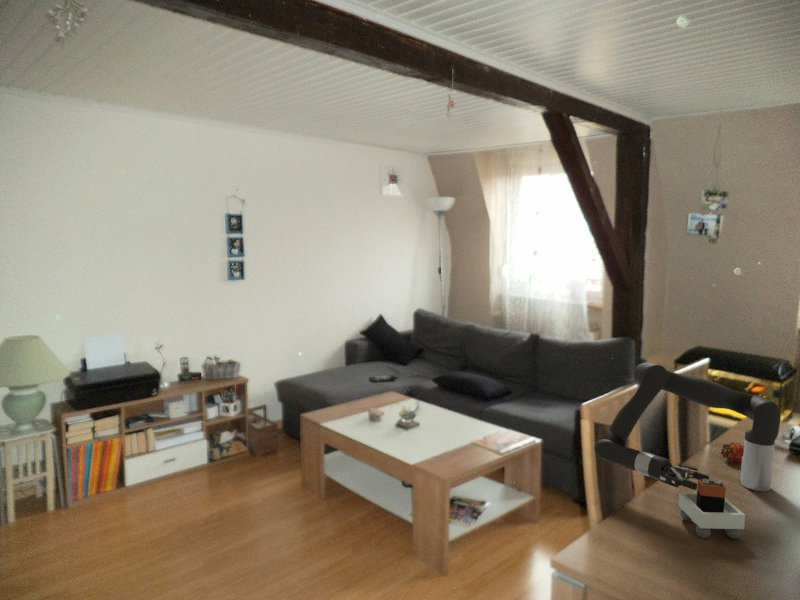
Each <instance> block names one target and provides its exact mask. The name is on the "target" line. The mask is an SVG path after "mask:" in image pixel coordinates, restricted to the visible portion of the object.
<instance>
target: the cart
mask: <svg viewBox="0 0 800 600" xmlns="http://www.w3.org/2000/svg"><path fill="white" fill-rule="evenodd" d="M696 502H697V492H681V491H680V492H679V493H678V507H679V508H680V509H681V510H680V513H679V515H680V517H681V518H682V519H683V520H684V521H687V522H691V521H692V522H694V524H696V527H695V532H696V535H698V537H700V538H703V539H706V538H709V537H710V536H711V529H715V530H717V529H718V530H720V529H721V530H722V529H723V530H724V529H725V534H726V535H727V537H728V538H731V539H734V540H735V539H738V538H739V537H741V534H742V532H741V530H745V526H746V525H745V524H746V523H745V522H746V514H745V513H744V512H743V511H741V510H740V509H739V508H738V507H737V506H736V505H734V504H733V503H732V502H731V501H730V500H728V499H727V498H726V497H725V502H724V513H716V512H703V511H702V510H701V509H700V508H698V507H697V506H696Z"/></svg>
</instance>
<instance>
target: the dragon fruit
mask: <svg viewBox="0 0 800 600" xmlns="http://www.w3.org/2000/svg"><path fill="white" fill-rule="evenodd" d="M743 453H744V445H741V443H739V442H735V443H734V442H729V443H724V444H723V445H722V448H721V451H720V454H721V455H722V457H723V459H724V458H725V459H727V462H730V463H731V464H732V463H735V462H736V463H739V464H741V463H742V456H743Z"/></svg>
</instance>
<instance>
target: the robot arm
mask: <svg viewBox="0 0 800 600" xmlns="http://www.w3.org/2000/svg"><path fill="white" fill-rule="evenodd" d="M633 377H634V380H635V381H636V382H637V383H638V384H639V387H638V389H637V390H636V392H635V393H634V395H633V396H632V397H631V398H630V399H629V400H628V401H627V402H626V403H625V404H624V405H623V406H622V407H621V409H619V411H618V412H617V414H616V415H615V417H614V418H613V421H612V423H611V424H610V425H609V428H608V429H609V433H610V436H609V438H608V439H606V438H605V439H604V438H603V439H599V440H597V441H596V443H595V444H594V447H593V448H594V453H595V455H596V456H598V457H599V458H600V459H602V460H603V461H605V462H607V463H610V464H611V463H612V464H613V463H615V464H618V465H621V466H622V467H624V468H626V469H629V470H632V471H635V472H637V473H639V474H641V475H644V476H645V477H647V478H652V479H655V480H657V481H659V482H661V483H664V484H667V485H670V486H672V487H675V488H679V487H681V488H682V487H685V488H687V489H690V490H693V491H697V489H698V482H695V481H693V480H690V479H695V480H697V481H698V480H703V479H707V480H710V476H709V475H707V474H704V473H701V472H699V469H698V468H696V467H693V466H690V465H686V464H683V463H678V465H672V463H671V461H670V459H668V458H665V457H663V456H659V455H656V454H653V453H650V452H645V451H641V450H637V449H635V448H631V447H627V442H628V439H629V436H630V435H631V434H632V432H633V430H634V428H635V427H636V425H637V423H638V421H640V418H641V417H642V416H643V414H644V412H645V411H646V409H647V408H648V407H649V405H650V404H651V403H652V401H654V399H655V397H656V396H658V394H659V393H660V392H661V391H665V392H668V393H671V394H673V395H675V396H678V397H680V398H682V399H685V400H687V401H689V402H692V403H695V404H699V405H702V406H704V407H708V408H713V409H726V410H730V411H732V412H735V413H739V414H741V415H742V416H745V417H746V418H748V419H750V420H752V421H753V422H752V427H751V429H748V430H746V431H745V432H744V440H743V441H744V443H743V446H744V453H743V456H742V463H740V477H739V481H740V484H741V485H742V486H743V487H745V488H747V489H750V490H751V491H752V490H753V491H756V492H769V491H770V490H771V486H772V476H773V466H774V465H773V464H774V454H775V444H776V440H777V438H778V436H779V431H780V424H781V418H782V412H781V408H780V406H779V405H778V404H777V403H776V402H774V401H772V400H771V399H768V398H765V397H763V396H761V395H758V394H751V393H746V392H741V391H737V390H734V389H733V388H729V387H727V386H725V385H722V384H720V383H717V382H715V381H711V380H708V379H705V378H703V377H702V378H701V377H698V376H697V377H696V376H693V375H688V374H683V373H677V372H673V371H670V370H668V369H667V368H665V367H664V366H663V365H661V364H659V363H654V362H648V361H646V362H643V363H639V364H638V365H636V367H635V368H634V370H633Z"/></svg>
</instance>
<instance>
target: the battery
mask: <svg viewBox="0 0 800 600" xmlns="http://www.w3.org/2000/svg"><path fill="white" fill-rule="evenodd" d="M722 482H723V481H722V480H721V479H717V478H716V479H713V480H710V479H709V480H707V479H703V480H697V489H696V491H697V492H696V493H697V502H696V506H697V507H698V508H700V509H701V510H702V511H703V512H716V513H724V502H725V498H726V490H727V488H726V486H725V485H724V483H722Z"/></svg>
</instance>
